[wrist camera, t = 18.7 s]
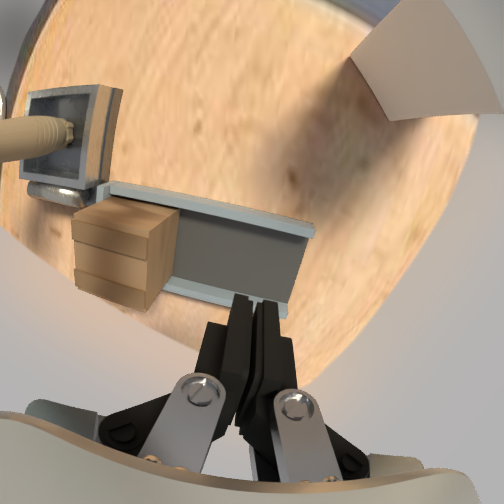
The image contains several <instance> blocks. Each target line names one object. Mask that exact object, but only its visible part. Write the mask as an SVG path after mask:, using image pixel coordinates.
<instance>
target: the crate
mask: <svg viewBox="0 0 504 504" xmlns="http://www.w3.org/2000/svg"><path fill="white" fill-rule="evenodd" d="M180 209H181V208H178V207H174V206H169V205H164V204H159V203H155V202H150V201H145V200H140V199H135V198H130V197H125V196H120V195H114V196H112V197H109V198H107V199H105V200H102V201H100V202H97V203H95V204H93V205H91V206H88V207H86V208H84V209H81V210H79V211H77V212H75V213H74V219H73V220H71V225H72V239H73V240H74V249H75V265H76V268H75V269H74V276H75V285H76V286H77V287H78V289H80V290H82V291H85V292H87V293H90V294H93V295H95V296H98V297H101V298H104V299H106V300H109V301H112V302H115V303H118V304H121V305H124V306H127V307H130V308H133V309H136V310H139V311H142V312H146V311H147V310H148V308H149V307H150V305H151V304H152V303H153V301H154V300H155V298H156V297H157V295H158V294H159V293H160V291H161V290H162V288H163V287H164V285H165V284H166V283H167V281H168V280H169V278H170V277H171V276H172V274H173V265H174V256H175V247H176V239H177V231H178V223H179V216H180Z"/></svg>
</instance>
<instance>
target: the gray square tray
mask: <svg viewBox="0 0 504 504" xmlns="http://www.w3.org/2000/svg"><path fill="white" fill-rule="evenodd" d="M122 92H123V90H122V89H118V88H112V87H108V86H104V85H99V84H98V85H81V86H70V87H60V88H52V89H45V90H38V91H32V92H28V97H27V102H26V108H25V114H24V116H50V117H55V118H63V119H65V120H66V121H67V122H72V123H73V125H74V129H73V137H74V138H73V141H72V142H71V143H69V144H68V145H67V147H66V148H65V149H63V150H60V151H54V152H52V153H49V154H46V155H43V156H40V157H35V158H30V159H25V160H20V166H19V179H25V180H30V182H29V183H28V186H27V193H28V195H29V196H30V197H33V198H37V199H41V200H46V201H50V202H55V203H59V204H63V205H68V206H72V207H77V208H83V207H84V206H91V205H93V204H95V203H96V196H97V186H98V185H101V184H104V183H107V182H109V173H110V164H111V156H112V148H113V141H114V135H115V128H116V123H117V117H118V112H119V107H120V102H121V97H122Z"/></svg>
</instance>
